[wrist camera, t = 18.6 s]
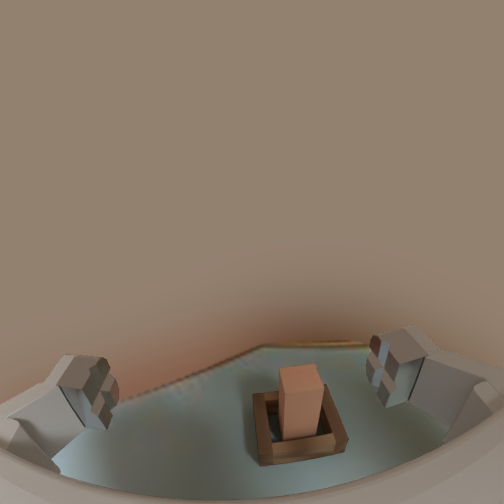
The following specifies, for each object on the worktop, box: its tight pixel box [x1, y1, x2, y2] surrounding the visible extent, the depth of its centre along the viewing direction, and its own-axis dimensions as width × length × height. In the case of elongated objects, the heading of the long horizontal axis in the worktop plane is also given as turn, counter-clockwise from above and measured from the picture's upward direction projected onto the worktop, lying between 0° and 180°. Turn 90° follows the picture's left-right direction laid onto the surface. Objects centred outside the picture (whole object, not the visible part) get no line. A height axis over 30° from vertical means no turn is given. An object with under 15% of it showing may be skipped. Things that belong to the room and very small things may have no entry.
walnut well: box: [253, 384, 349, 466], centre depth 29 cm, size 10×10×3 cm
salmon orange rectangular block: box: [278, 363, 324, 442], centre depth 28 cm, size 4×4×10 cm
